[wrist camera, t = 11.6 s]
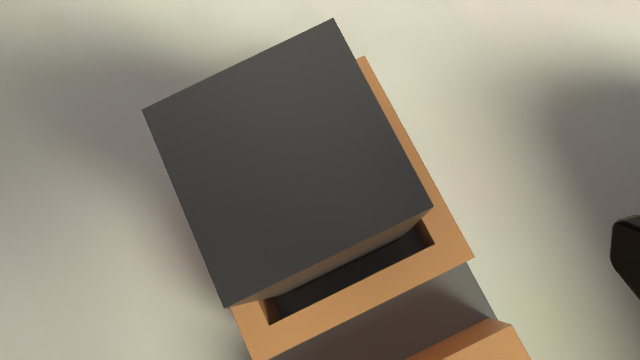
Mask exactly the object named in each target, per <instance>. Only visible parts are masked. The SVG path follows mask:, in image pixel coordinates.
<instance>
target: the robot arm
mask: <svg viewBox="0 0 640 360" xmlns="http://www.w3.org/2000/svg"><path fill="white" fill-rule="evenodd" d="M610 260H611V263H612V265H613V267H614V269H615V270H616V271H617V273H618V274H619V275H620V276H621V277H622V279H623V280H624V281H625V282H626V284H627V285H628V286H629V287H630V288H631V290H632V291H633V292H634V293H635V295H636V296H637V297H638V298H639V300H640V215H633V216H629V217H626V218H623V219H620V220H617V221H616V222H615V223H614V225H613V227H612V236H611V248H610Z"/></svg>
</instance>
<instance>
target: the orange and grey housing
mask: <svg viewBox="0 0 640 360" xmlns="http://www.w3.org/2000/svg"><path fill="white" fill-rule="evenodd" d="M356 61H357V63H358V65H359V67H360V69H361V71H362V72H363V74H364V76H365V78H366V80H367V82H368V84H369V86H370V87H371V89H372V91H373V93H374V95H375V97H376V99H377V100H378V102H379V104H380V106H381V108H382V110H383V112H384V114H385V115H386V117H387V119H388V121H389V123H390V125H391V127H392V129H393V130H394V132H395V134H396V136H397V138H398V140H399V142H400V143H401V145H402V147H403V149H404V151H405V153H406V155H407V157H408V158H409V160H410V162H411V164H412V166H413V168H414V170H415V171H416V173H417V175H418V177H419V179H420V181H421V183H422V185H423V186H424V188H425V190H426V192H427V194H428V196H429V198H430V200H431V201H432V203H433V205H434V207H433V208H432V209H431V210H430V211H429V212H428V213H427V214H426V215H425V216H424V217H423V218H422V219H421V220H419V221H418V222H417V223H416V224H415V225H414V226H413V227H412V228H411V229H410V230H409V231H408V232H407V233H406V234H405V235H404V236H403V237H402V238H401V239H400V240H398V241H396V242H394V243H392V244H390V245H388V246H386V247H384V248H382V249H380V250H377V251H375V252H373V253H371V254H369V255H367V256H365V257H363V258H361V259H359V260H357V261H355V262H353V263H351V264H349V265H347V266H345V267H343V268H340V269H338V270H336V271H334V272H332V273H330V274H328V275H326V276H324V277H322V278H320V279H318V280H316V281H314V282H312V283H310V284H308V285H306V286H303V287H301V288H299V289H297V290H295V291H293V292H291V293H288V294H284V295H279V296H275V297H271V298H267V299H262V300H258V301H254V302H250V303H246V304H241V305H237V306H233V307H230V309H231V311H232V313H233V316H234V318H235V321H236V323H237V325H238V328H239V330H240V332H241V335H242V337H243V339H244V342H245V344H246V347H247V349H248V351H249V354H250V356H251V358H252V360H531V359H530V357H529V355H528V353H527V351H526V350H525V348H524V346H523V344H522V342H521V340H520V339H519V337H518V335H517V333H516V331H515V329H514V328H513V326H512V325H511V324H508V323H505V322H502V321H498V320H497V318H496V316H495V314H494V312H493V310H492V309H491V307H490V305H489V303H488V301H487V299H486V297H485V296H484V294H483V292H482V290H481V288H480V286H479V285H478V283H477V281H476V279H475V277H474V275H473V274H472V272H471V270H470V268H469V266H468V264H467V262H466V261H468V260H470V259H472V258H474V257H475V256H474V255H473V253H472V251H471V249H470V247H469V245H468V244H467V242H466V240H465V238H464V236H463V235H462V233H461V231H460V229H459V227H458V225H457V224H456V222H455V220H454V218H453V216H452V214H451V213H450V211H449V209H448V207H447V205H446V203H445V202H444V200H443V198H442V196H441V194H440V193H439V191H438V189H437V187H436V185H435V183H434V182H433V180H432V178H431V176H430V174H429V172H428V171H427V169H426V167H425V165H424V163H423V161H422V160H421V158H420V156H419V154H418V152H417V151H416V149H415V147H414V145H413V143H412V141H411V140H410V138H409V136H408V134H407V132H406V130H405V129H404V127H403V125H402V123H401V121H400V120H399V118H398V116H397V114H396V112H395V110H394V109H393V107H392V105H391V103H390V101H389V99H388V98H387V96H386V94H385V92H384V90H383V88H382V87H381V85H380V83H379V81H378V79H377V78H376V76H375V74H374V72H373V70H372V68H371V67H370V65H369V63H368V61H367V59H366V57H365V56H362V57H360V58H358V59H356Z"/></svg>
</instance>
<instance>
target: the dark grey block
mask: <svg viewBox="0 0 640 360" xmlns="http://www.w3.org/2000/svg"><path fill="white" fill-rule="evenodd" d="M142 112H143V114H144V116H145V119H146V121H147V124H148V126H149V128H150V131H151V133H152V136H153V138H154V141H155V143H156V145H157V148H158V150H159V153H160V155H161V157H162V160H163V162H164V165H165V167H166V169H167V172H168V174H169V177H170V179H171V181H172V184H173V186H174V189H175V191H176V194H177V196H178V198H179V201H180V203H181V206H182V208H183V210H184V213H185V215H186V218H187V220H188V222H189V225H190V227H191V230H192V232H193V235H194V237H195V239H196V242H197V244H198V247H199V249H200V251H201V254H202V256H203V259H204V261H205V263H206V266H207V268H208V271H209V273H210V275H211V278H212V280H213V283H214V285H215V288H216V290H217V292H218V295H219V297H220V300H221V302H222V304H223V307H224V308H229V307H233V306H237V305H241V304H246V303H250V302H254V301H258V300H262V299H267V298H271V297H275V296H279V295H284V294H288V293H291V292H293V291H295V290H297V289H299V288H301V287H303V286H306V285H308V284H310V283H312V282H314V281H316V280H318V279H320V278H322V277H324V276H326V275H328V274H330V273H332V272H334V271H336V270H338V269H340V268H343V267H345V266H347V265H349V264H351V263H353V262H355V261H357V260H359V259H361V258H363V257H365V256H367V255H369V254H371V253H373V252H375V251H377V250H380V249H382V248H384V247H386V246H388V245H390V244H392V243H394V242H396V241H398V240H400V239H401V238H402V237H403V236H404V235H405V234H406V233H407V232H408V231H409V230H410V229H411V228H412V227H413V226H414V225H415V224H416V223H417V222H418V221H419V220H421V219H422V218H423V217H424V216H425V215H426V214H427V213H428V212H429V211H430V210H431V209H432V208H433V207H434V205H433V203H432V201H431V200H430V198H429V196H428V194H427V192H426V190H425V188H424V186H423V185H422V183H421V181H420V179H419V177H418V175H417V173H416V171H415V170H414V168H413V166H412V164H411V162H410V160H409V158H408V157H407V155H406V153H405V151H404V149H403V147H402V145H401V143H400V142H399V140H398V138H397V136H396V134H395V132H394V130H393V129H392V127H391V125H390V123H389V121H388V119H387V117H386V115H385V114H384V112H383V110H382V108H381V106H380V104H379V102H378V100H377V99H376V97H375V95H374V93H373V91H372V89H371V87H370V86H369V84H368V82H367V80H366V78H365V76H364V74H363V72H362V71H361V69H360V67H359V65H358V63H357V61H356V59H355V58H354V56H353V54H352V52H351V50H350V48H349V46H348V44H347V43H346V41H345V39H344V37H343V35H342V33H341V31H340V29H339V28H338V26H337V24H336V22H335V20H334V18H332V19H330V20H327V21H325V22H323V23H321V24H319V25H317V26H315V27H313V28H311V29H309V30H307V31H305V32H303V33H300V34H298V35H296V36H294V37H292V38H290V39H288V40H286V41H284V42H282V43H280V44H278V45H275V46H273V47H271V48H269V49H267V50H265V51H263V52H261V53H259V54H257V55H255V56H253V57H251V58H248V59H246V60H244V61H242V62H240V63H238V64H236V65H234V66H232V67H230V68H228V69H226V70H223V71H221V72H219V73H217V74H215V75H213V76H211V77H209V78H207V79H205V80H203V81H201V82H199V83H196V84H194V85H192V86H190V87H188V88H186V89H184V90H182V91H180V92H178V93H176V94H174V95H171V96H169V97H167V98H165V99H163V100H161V101H159V102H157V103H155V104H153V105H151V106H149V107H146V108H144V109H142Z"/></svg>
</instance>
